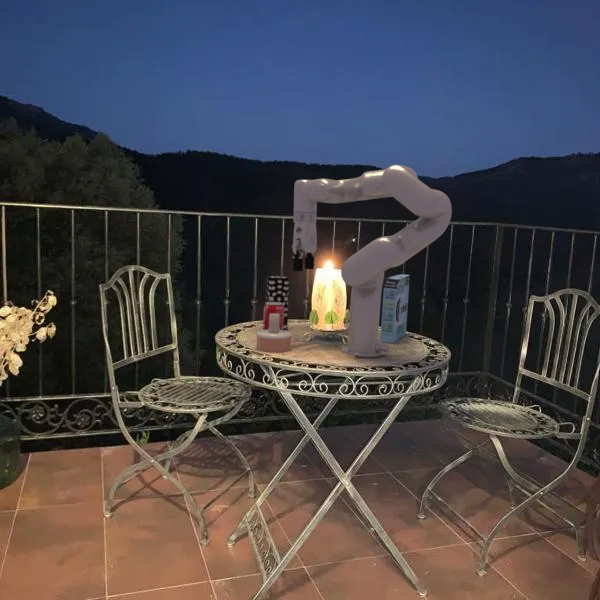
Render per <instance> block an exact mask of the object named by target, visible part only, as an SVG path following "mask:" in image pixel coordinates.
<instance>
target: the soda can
mask: <svg viewBox="0 0 600 600" xmlns="http://www.w3.org/2000/svg"><path fill="white" fill-rule="evenodd" d="M270 313H278V314H280V318H279V330H284V307H283V303H280V302H266V301H265V304H264V307H263V318H262V319H263V320H262V321H263V322H262V330H269V314H270Z"/></svg>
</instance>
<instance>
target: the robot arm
mask: <svg viewBox="0 0 600 600" xmlns="http://www.w3.org/2000/svg"><path fill="white" fill-rule="evenodd" d="M293 188H294V189H293V223H294V228H293V236H292V237H293V239H292V245H291V248H292V259H293V261H292V263H293V264H292V271H294V272H303V270H304V269H305V270H314V268H315V257H316V256H315V253H316V252H317V250H318V249H317V247H318V246H317V245H318V241H317V239H318V237H317V224H316V223H317V211H318V210H317V209H318V207H317V205H318V203H324V204H325V203H326V204H343V203H352V202H358V201H368V200H374V199H382V198H394V199H395V200H396V201H397V202H399V203H400V204H401V205H402V206H404V207H405V208H406V209H408V211H410V212H411V213H413V214H414V215H415V216H417V217H419V218H417V219H416V220H414V221H412V222H410V223H408V224H407V225H406V226H405V227H404V228H402V229H400V230H398V232H396V233H394V234H392V235H385V236H380V237H378V238H376V239H374V240H372V241H370V243H368V244H366V245H365V246H364V247H361V249H359V250H358V251H357V252H355V253H354V254H352V255H351V256H350V257H348V258H347V259H346V260H345V261H344V262H343V264H342V266H341V271H340V276H341V279H342V281H343V282H344V283H345V284H346V285H348V286H350V287H351V292H350V293H351V294H350V301H349V302H350V304H349V317H348V318H349V320H348V337H347V338H348V340H347V341H348V344H347V346H345V347H343V348H342V351H343V353H346V354H347V355H354V357H356V358H377V357H381V356H382V355H383V352H385V353H386V352H387V353H390V351H391V346H390V345H389V344H382V342H381V340H380V339H379V334H380V333H379V331H380V314H381V313H380V312H381V299H382V298H381V297H382V292H383V291H382V290H383V286H384V280H385V272H386V271H388V270H389V269H391V268H396V267H400V266H402V264H404V263H405V262H407V261H409V260H410V259H411V258H412V257H413V256H415V255H417V254H418V253H419V252H421V251H422V250H424V249H425V248H427V246H428V247H429V245H431V244H432V243H433V242H435V241H436V240H438V238H440V237H441V236H442V235H443V234H444V232H446V230H447V228H448V226H449V225H450V222H451V218H452V215H453V214H452V213H453V211H452V202H451V200H450V198H449V196H448V195H447V194H446V193H444V192H443V191H440V190H438V189H433V188H431V187H429V186H428V185H427V184H425V183H424V182H422V181H421V180H420V179H419V177H418V174H417V172H416V171H415V170H414V169H413V168H411V167H409V166H406V165H403V164H393V165H390V166H388V167H387V168H385V169H379V170H378V169H377V170H368V171H365V172H363V173H362V175H360V176H358V177H353V178H348V179H338V180H335V179H330V178H317V179H316V178H315V179H298V180H296V181H295V182H294V187H293ZM304 253H305V257H304V258H303V256H304ZM303 265H304V266H303ZM303 268H304V269H303Z"/></svg>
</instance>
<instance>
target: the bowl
mask: <svg viewBox="0 0 600 600" xmlns="http://www.w3.org/2000/svg"><path fill="white" fill-rule="evenodd" d="M291 338H292V336H291V337H290V338H286V339H266V338H260V337H258V336H257V335H256V349H257V350H258V351H260V352H265V353H285V352H288V351H290V350H291V348H290V346H291V342H292V340H291Z"/></svg>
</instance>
